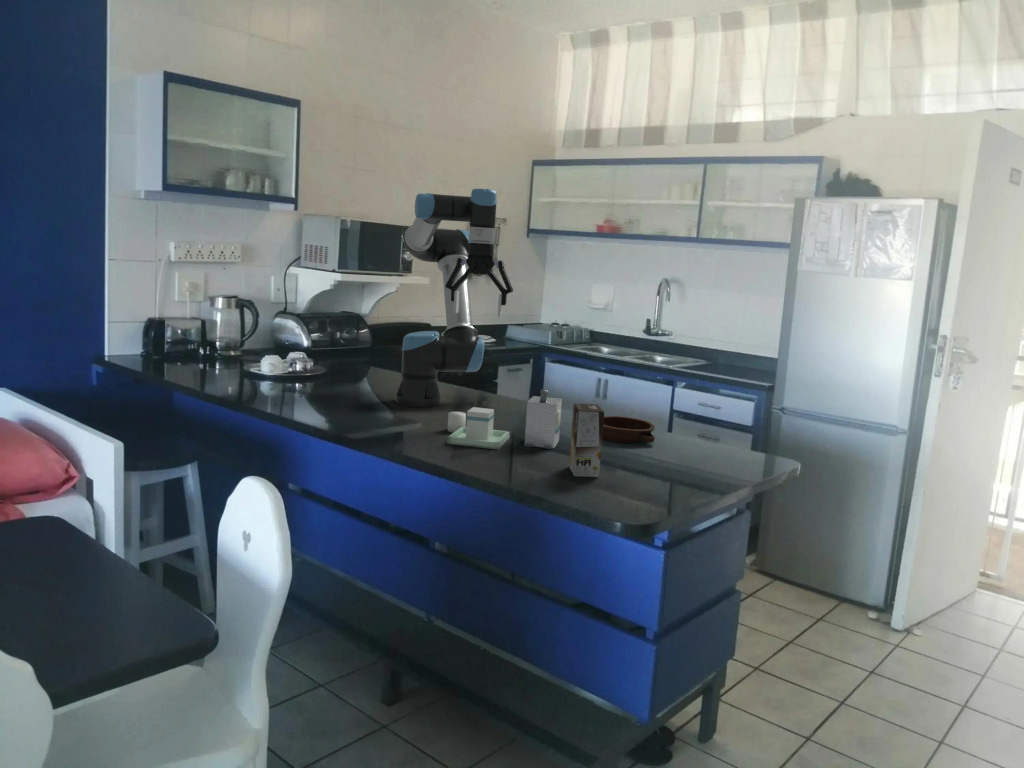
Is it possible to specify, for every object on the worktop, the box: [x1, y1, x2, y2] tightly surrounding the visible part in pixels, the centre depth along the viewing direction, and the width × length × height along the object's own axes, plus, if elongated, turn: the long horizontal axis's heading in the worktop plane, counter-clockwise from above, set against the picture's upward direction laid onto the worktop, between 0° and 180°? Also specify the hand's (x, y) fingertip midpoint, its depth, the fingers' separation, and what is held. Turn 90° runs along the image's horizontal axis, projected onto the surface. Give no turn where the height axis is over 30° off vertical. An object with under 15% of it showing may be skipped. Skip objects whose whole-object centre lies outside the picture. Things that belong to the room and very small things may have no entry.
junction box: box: [524, 389, 563, 450], centre depth 226 cm, size 8×11×15 cm
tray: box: [446, 426, 511, 450], centre depth 225 cm, size 14×14×2 cm
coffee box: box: [568, 403, 605, 478], centre depth 199 cm, size 9×6×16 cm
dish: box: [602, 415, 656, 444], centre depth 238 cm, size 18×22×5 cm
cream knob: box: [447, 411, 467, 433], centre depth 235 cm, size 5×5×5 cm
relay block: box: [466, 406, 495, 441], centre depth 225 cm, size 6×6×8 cm
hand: (477, 314), depth 248 cm, fingers open, 13 cm apart
